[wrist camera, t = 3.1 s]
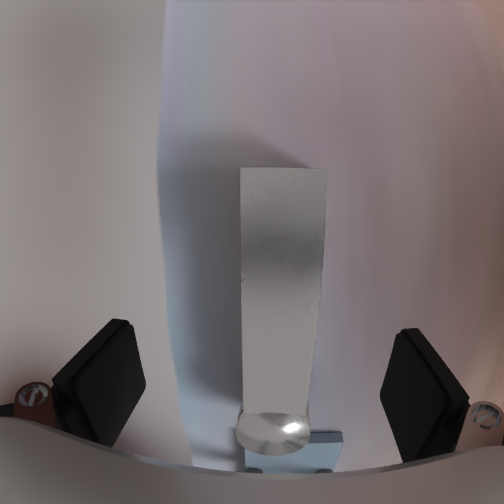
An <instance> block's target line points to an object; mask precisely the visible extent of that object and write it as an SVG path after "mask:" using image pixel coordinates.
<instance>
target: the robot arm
mask: <svg viewBox="0 0 504 504" xmlns="http://www.w3.org/2000/svg"><path fill="white" fill-rule="evenodd" d="M52 381H53V384H54V385H53V386H52V388H51V387H50V386H49V385H48V384H46V383H43V382H31V383H28V384H26V385H24V386H22V387H21V388H20V389H19V390H18V391H17V392H16V395H15V399H14V403H11V404H6V405H1V406H0V504H504V412H503V411H502V410H501V409H500V407H498V406H497V405H495V404H493V403H491V402H486V401H479V402H476V403H473V404H472V405H470V404H469V402H468V400H469V398H470V397H469V396H468V394H467V393H466V392H465V390H464V389H463V387H462V386H461V385H460V383H459V382H458V380H457V379H456V378H455V376H454V375H453V373H452V372H451V371H450V369H449V368H448V367H447V365H446V364H445V363H444V361H443V360H442V359H441V357H440V356H439V355H438V353H437V352H436V351H435V349H434V348H433V347H432V345H431V344H430V343H429V342H428V340H427V339H426V338H425V336H424V335H423V334H422V333H421V331H420V330H419V329H418V328H409V329H402V330H401V332H400V333H398V334H397V335H396V337H395V341H394V346H393V349H392V353H391V357H390V361H389V364H388V368H387V371H386V375H385V378H384V381H383V385H382V388H381V391H380V399H381V402H382V405H383V408H384V410H385V413H386V416H387V418H388V421H389V424H390V427H391V429H392V432H393V435H394V438H395V441H396V444H397V446H398V449H399V452H400V455H401V458H402V461H403V463H401V464H395V465H389V466H384V467H377V468H371V469H363V470H355V471H345V472H333V473H317V474H260V473H244V472H232V471H222V470H214V469H206V468H199V467H193V466H186V465H181V464H175V463H169V462H165V461H161V460H156V459H152V458H147V457H143V456H139V455H135V454H132V453H128V452H124V451H121V450H117V449H114V448H112V446H113V445H114V443H115V441H116V440H117V438H118V436H119V434H120V433H121V431H122V429H123V427H124V425H125V424H126V422H127V420H128V418H129V417H130V415H131V413H132V411H133V410H134V408H135V406H136V405H137V403H138V401H139V399H140V397H141V396H142V394H143V392H144V390H145V387H146V381H145V377H144V373H143V369H142V365H141V361H140V356H139V351H138V347H137V342H136V337H135V332H134V327H133V326H132V325H130V323H129V321H127V320H121V319H112V320H111V321H109V322H108V323H107V324H106V325H105V327H103V328H102V329H101V330H100V331H99V332H98V333H97V334H96V335H95V336H94V337H93V338H92V339H91V340H90V341H89V342H88V343H87V344H86V345H85V346H84V347H83V348H82V349H81V350H80V351H79V352H78V353H77V354H76V355H75V356H74V357H73V358H72V359H71V360H70V361H69V362H68V363H67V364H66V365H65V366H64V367H63V368H62V369H61V370H60V371H59V372H58V373H57V374H56V375H55V376H54V377H53V378H52Z"/></svg>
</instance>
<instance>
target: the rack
mask: <svg viewBox="0 0 504 504" xmlns="http://www.w3.org/2000/svg"><path fill="white" fill-rule="evenodd" d="M342 445H343V436H342V432H334V433H310V439H309V441H308V443H307V444H306V445H305V446H304V447H303V448H302V449H300V450H298V451H296V452H294V453H291V454H288V455H283V456H265V455H260V454H256V453H253V452H251V451H249V450H247V449H245V473H260V474H317V473H333V470H334V467H335V465H336V462H337V459H338V456H339V454H340V451H341V448H342Z"/></svg>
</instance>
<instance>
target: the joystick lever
mask: <svg viewBox="0 0 504 504" xmlns="http://www.w3.org/2000/svg"><path fill="white" fill-rule="evenodd" d="M326 179H327V169H313V168H278V167H240V224H241V314H242V369H243V396H242V401H241V406H240V411H239V416H238V421H237V425H236V430H235V436H236V439H237V441H238V442H239V443H240V445H242V446H243V447H244V448H245V449H247V450H249V451H251V452H253V453H256V454H260V455H265V456H283V455H288V454H291V453H294V452H296V451H298V450H300V449H302V448H303V447H304V446H305V445H306V444H307V443H308V441H309V439H310V418H309V403H308V394H309V387H310V380H311V373H312V366H313V358H314V350H315V342H316V333H317V324H318V314H319V304H320V293H321V281H322V268H323V253H324V235H325V214H326Z"/></svg>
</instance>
